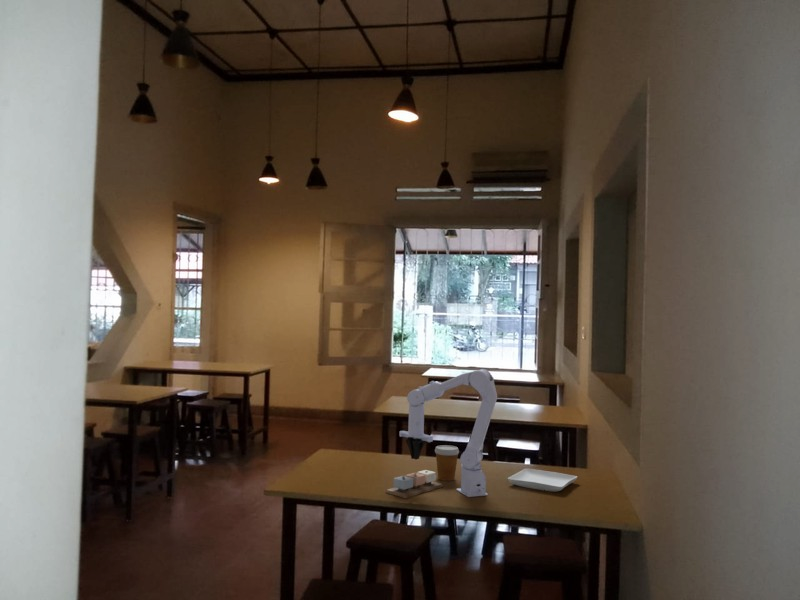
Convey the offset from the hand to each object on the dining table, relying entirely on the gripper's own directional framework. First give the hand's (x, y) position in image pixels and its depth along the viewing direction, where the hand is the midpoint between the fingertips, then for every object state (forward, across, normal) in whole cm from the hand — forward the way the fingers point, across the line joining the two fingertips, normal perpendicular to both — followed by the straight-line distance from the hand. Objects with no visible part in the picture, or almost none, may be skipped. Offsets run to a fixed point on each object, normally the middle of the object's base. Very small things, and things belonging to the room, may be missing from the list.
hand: (415, 458), depth 233 cm
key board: (+10, +4, -4) cm, 11 cm away
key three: (+8, +3, -11) cm, 14 cm away
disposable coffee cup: (+10, +2, +17) cm, 20 cm away
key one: (+8, +4, +3) cm, 9 cm away
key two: (+8, +4, -4) cm, 9 cm away
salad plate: (+10, +32, +37) cm, 51 cm away
